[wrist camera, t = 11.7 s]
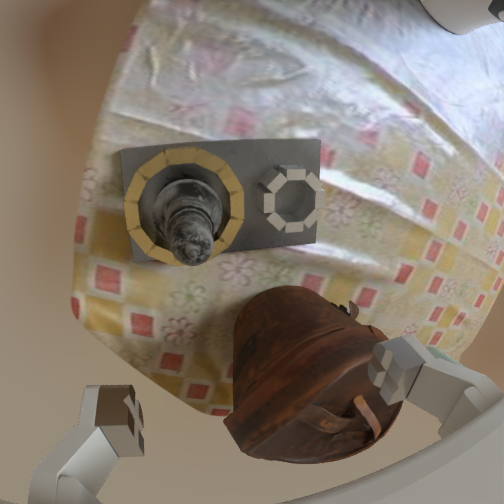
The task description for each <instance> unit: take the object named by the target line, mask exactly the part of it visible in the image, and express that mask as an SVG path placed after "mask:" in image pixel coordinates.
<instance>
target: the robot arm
mask: <svg viewBox="0 0 504 504" xmlns="http://www.w3.org/2000/svg"><path fill="white" fill-rule="evenodd" d="M420 2H421V3H422V4H423V6H424V7H425V9H426V10H427V11H428V12H429V14H430V15H431V16H432V17H433V18H434V19H435V20H436V21H437V22H438V23H439V24H440V25H442V26H443V27H444V28H446V29H447V30H449V31H451V32H453V33H456V34H460V35H463V34H467V33H469V32H471V31H473V30H475V29H477V28H480V27H482V26H486V25H489V24H493V23H498V22H504V0H420ZM372 352H373V354H374V356H373V357H372V358H371V360H370V361H369V364H368V376H369V378H370V380H371V382H372V383H373V385H375V386H377V387H379V388H380V391H379V393H380V395H381V396H382V398H383V399H384V401H385V402H386V403H387V405H391V404H394V403H397V402H399V401H402V400H404V399H407V401H409V402H411V403H413V404H414V405H416V406H418V407H420V408H421V409H423V410H425V411H427V412H428V413H430V414H432V415H434V416H436V417H437V418H439V419H441V420H442V421H444V423H443V424H442V426H441V427H440V429H439V431H438V434H439V435H440V436H441V438H442V439H441V440H439V441H437V442H435V443H433V444H432V445H430V446H428V447H426V448H424V449H422V450H420V451H418V452H417V453H415V454H413V455H411V456H409V457H407V458H405V459H402V460H400V461H399V462H396V463H394V464H392V465H390V466H387V467H385V468H383V469H381V470H379V471H376V472H374V473H371V474H369V475H367V476H364V477H361V478H359V479H356V480H354V481H351V482H349V483H346V484H343V485H340V486H337V487H334V488H331V489H328V490H325V491H322V492H319V493H315V494H312V495H309V496H305V497H302V498H298V499H294V500H290V501H286V502H283V503H279V504H504V393H503V392H502V391H501V390H500V389H499V388H498V387H497V386H496V385H495V384H494V383H493V382H492V381H491V380H490V378H488V376H486V375H483V374H480V373H478V372H475V371H472V370H469V369H467V368H464V367H462V366H459V365H456V364H454V363H451V362H448V361H446V360H443V359H441V358H437V359H436V358H435V357H434V356H433V355H432V354H431V353H430V352H429V351H428V350H427V349H426V348H425V347H424V346H423V345H422V343H421V342H420V341H419V340H418V339H417V338H416V337H415V336H414V335H412V334H410V333H409V334H406V335H403V336H400V337H396V338H393V339H390V340H386V341H383V342H380V343H377V344H376V345H375V346H374V348H373V351H372ZM143 428H144V427H143V415H142V409H141V406H140V403H139V401H138V400H136V399H135V390H134V388H133V386H132V385H88V386H86V387H85V389H84V393H83V398H82V404H81V410H80V415H79V421H78V426H73V427H72V428H71V429H70V430H69V431H68V433H67V434H66V435H65V436H64V437H63V438H62V439H61V440H60V441H59V442H58V443H57V444H56V446H55V447H54V448H53V449H52V450H51V451H50V452H49V453H48V454H47V455H46V456H45V457H44V458H43V459H42V461H41V462H40V463H39V464H38V465H37V466H36V467H35V468H34V469H33V470H32V474H31V481H30V488H29V495H28V504H103V503H101V502H100V501H99V500H98V499H97V498H96V495H97V494H98V492H99V490H100V489H101V487H102V485H103V484H104V482H105V481H106V479H107V477H108V476H109V474H110V473H111V471H112V469H113V468H114V466H115V465H116V463H117V461H118V460H119V457H138V456H144V439H143V437H142V435H141V431H142V429H143ZM0 504H17V503H13V502H9V501H5V500H2V499H0Z"/></svg>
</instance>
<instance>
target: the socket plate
mask: <svg viewBox="0 0 504 504" xmlns="http://www.w3.org/2000/svg"><path fill="white" fill-rule="evenodd" d="M320 148H321V140H317V139H242V140H218V141H201V142H186V143H174V144H163V145H154V146H144V147H136V148H128V149H121V150H120V157H121V169H122V179H123V188H124V197H125V198H124V210H125V217H126V224H127V231H128V230H129V231H128V233H129V234H130V240H131V247H132V253H133V258H134V262H140V261H149V260H160V261H162V262H165V263H167V264H170V265H172V266H174V264H175V266H182V265H185V264H182V263H181V262H179V261H178V260H177V259H176V258H175V257H174V256H173V254H172V251H171V248H170V243H169V242H167V241H166V240H164V239H163V238H162V237H161V236H160V235H159V233H158V232H157V231H156V228H155V226H154V224H153V218H152V210H153V204H154V202H155V199H156V197H157V196H158V194H159V193H160V191H161V189H162V188H163V187H164V185H165V184H166V183H167V182H169V181H170V180H171V179H173V178H176V177H178V176H185V175H188V176H194V177H197V178H199V179H201V180H202V181H204V182H205V183H206V184H207V185H208V186H209V187H211V188H212V189H213V190H214V191H215V193H216V194H217V196H218V197H219V200H220V202H221V205H222V218H221V223H220V225H219V227H218V229H217V231H216V232H215V233H214V235H213V241H214V247H213V252H212V254H211V256H210V257H209V258H208V260H210V259H211V258H213V257H214V256H216V255H217V254H219V253H225V252H235V251H244V250H254V249H263V248H273V247H283V246H292V245H302V244H312V243H315V242H316V228H317V219H318V218H319V217H320V216H321V214H320V213H319V212H318V209H324V206H325V190H323V189H321V187H322V186H323V184H322V183H321V182H320V180H319V174H320ZM208 260H207V261H208ZM207 261H205V262H207Z"/></svg>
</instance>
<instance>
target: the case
mask: <svg viewBox="0 0 504 504" xmlns="http://www.w3.org/2000/svg"><path fill="white" fill-rule="evenodd" d="M349 308H350V314H349V313H348V312H347V308H345V307H344V306H343V305H340V306H339V307H338V306H337V305H335V304H334V303H332V302H331V303H330V302H329V301H327V300H326V299H324V298H323V297H321V296H320V295H319V294H317V293H316V292H314V291H312V290H310V289H307V288H304V287H300V286H282V287H277V288H273V289H270V290H268V291H266V292H264V293H262V294H260V295H258V296H256V297H255V298H254V299H252V300H251V301H250V302H249V303H248V304H247V305H246V306H245V307H244V309H243V310H242V311H241V313H240V315H239V316H238V318H237V321H236V323H235V327H234V352H233V413H230V414H229V415H228V417H226V418H225V419H224V421H223V422H224V424H225V426H226V427H227V429H228V430H229V432H230V434H231V435H232V437H233V439H234V440H235V442H236V443H237V445H238V447H239V448H240V450H241V451H242V452H243V453H246V454H247V455H248V456H251V457H254V458H258V459H265V460H271V461H272V460H277V461H283V462H289V463H297V464H318V463H325V462H332V461H337V460H341V459H345V458H348V457H351V456H353V455H356V454H358V453H360V452H362V451H364V450H366V449H368V448H370V447H371V446H372V445H374V444H375V443H376V442H377V441H378V440H379V439H381V438H382V437H383V436H384V435H385V434H386V433H387V432H388V430H389V429H390V428H391V426H392V425H393V423H394V421H395V420H396V418H397V416H398V414H399V412H400V409H401V407H402V403H403V400H402V401H399V402H397V403H394V404H391V405H387V403H386V402H385V401H384V399H383V398H382V396H381V395H380V393H379V391H380V388H379V387H377V386H375V385H373V383H372V382H371V380H370V378H369V376H368V364H369V361H370V360H371V358H372V357H373V356H374V354H373V352H372V351H373V348H374V346H375V345H376V344H377V343H380V342H383V341H386V340H389V339H388V338H387V337H386V336H385V335H384V334H383V332H382V331H381V330H379V329H377V328H375V327H373V326H371V325H361V324H360V323H358V322H357V321H356V320H355V319H356V318H357V315H358V313H359V308H358V307H357V306H356V305H355V304H354V303H353V302H352V301H349Z"/></svg>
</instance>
